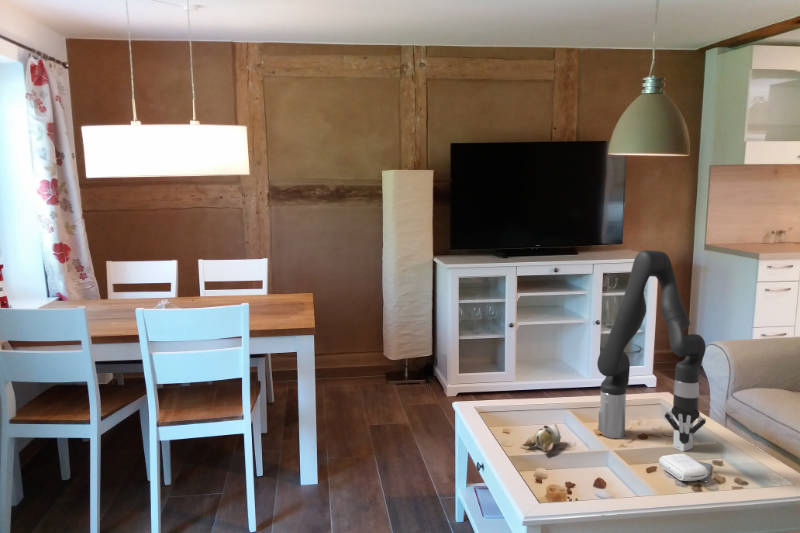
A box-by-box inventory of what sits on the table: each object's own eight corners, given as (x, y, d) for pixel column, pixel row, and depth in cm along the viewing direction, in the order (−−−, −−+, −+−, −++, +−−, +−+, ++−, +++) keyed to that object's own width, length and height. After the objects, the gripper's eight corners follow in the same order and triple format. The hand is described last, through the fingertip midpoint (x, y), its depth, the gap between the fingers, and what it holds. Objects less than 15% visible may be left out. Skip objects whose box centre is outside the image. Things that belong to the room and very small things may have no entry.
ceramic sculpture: (568, 423, 215) (545, 437, 205) (568, 445, 217) (546, 460, 207) (543, 416, 223) (520, 429, 213) (544, 437, 224) (521, 451, 214)
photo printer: (657, 467, 196) (684, 485, 185) (658, 455, 196) (684, 472, 184) (683, 463, 199) (711, 481, 187) (684, 452, 198) (712, 468, 186)
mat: (672, 475, 192) (672, 473, 192) (677, 458, 204) (677, 457, 204) (708, 482, 187) (708, 480, 187) (711, 465, 199) (711, 463, 199)
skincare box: (684, 452, 210) (685, 419, 208) (672, 447, 213) (673, 416, 212) (693, 447, 213) (694, 416, 212) (681, 443, 217) (683, 412, 215)
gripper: (662, 393, 194) (661, 443, 196) (707, 400, 187) (705, 451, 189) (666, 387, 201) (664, 435, 203) (709, 393, 194) (707, 443, 196)
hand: (684, 442), depth 196 cm, fingers closed
